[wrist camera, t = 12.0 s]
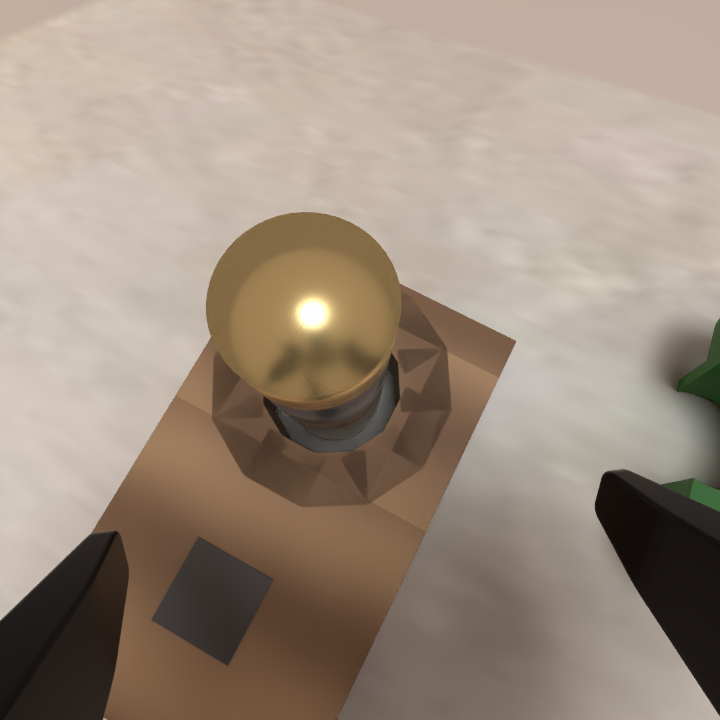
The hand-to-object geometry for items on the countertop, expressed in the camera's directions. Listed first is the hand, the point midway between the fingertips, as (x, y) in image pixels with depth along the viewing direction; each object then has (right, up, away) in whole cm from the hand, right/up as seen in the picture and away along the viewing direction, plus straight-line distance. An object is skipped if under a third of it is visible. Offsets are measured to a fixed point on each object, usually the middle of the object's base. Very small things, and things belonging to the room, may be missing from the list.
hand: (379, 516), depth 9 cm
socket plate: (-3, -3, +13) cm, 14 cm away
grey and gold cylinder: (-2, +1, +14) cm, 14 cm away
